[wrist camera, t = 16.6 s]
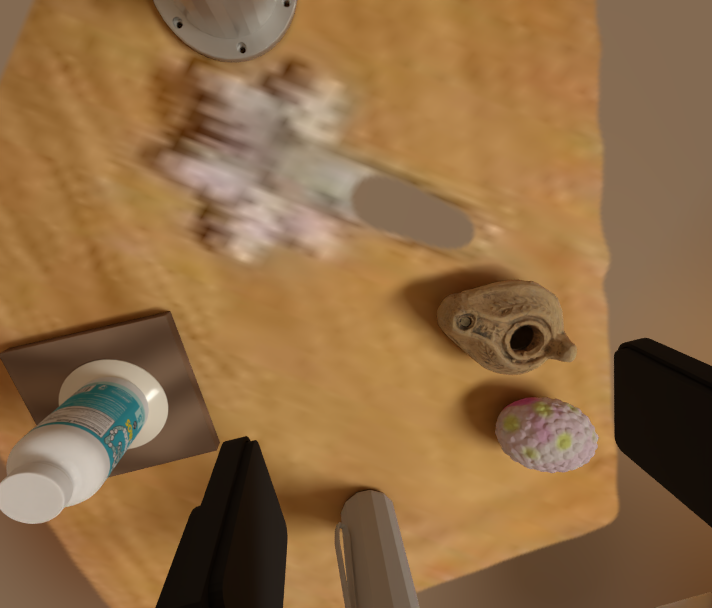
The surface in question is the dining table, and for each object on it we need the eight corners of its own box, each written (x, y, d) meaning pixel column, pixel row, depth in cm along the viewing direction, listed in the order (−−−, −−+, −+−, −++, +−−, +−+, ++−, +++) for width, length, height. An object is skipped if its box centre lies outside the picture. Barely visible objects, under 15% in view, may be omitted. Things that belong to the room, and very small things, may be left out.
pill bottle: (133, 444, 43) (58, 552, 31) (66, 416, 42) (-43, 517, 29) (164, 393, 42) (99, 482, 29) (96, 361, 40) (-5, 442, 27)
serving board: (9, 348, 41) (-4, 354, 39) (170, 311, 41) (164, 316, 40) (77, 477, 46) (68, 488, 44) (219, 442, 47) (216, 451, 45)
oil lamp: (433, 268, 43) (459, 285, 36) (557, 277, 45) (606, 295, 38) (420, 358, 46) (441, 391, 39) (536, 363, 48) (578, 395, 41)
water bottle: (405, 498, 52) (485, 760, 28) (371, 539, 53) (420, 821, 30) (350, 469, 50) (386, 727, 26) (315, 512, 51) (319, 796, 27)
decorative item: (590, 479, 48) (599, 500, 40) (497, 452, 54) (486, 465, 45) (599, 406, 49) (609, 411, 41) (507, 387, 55) (498, 387, 46)
